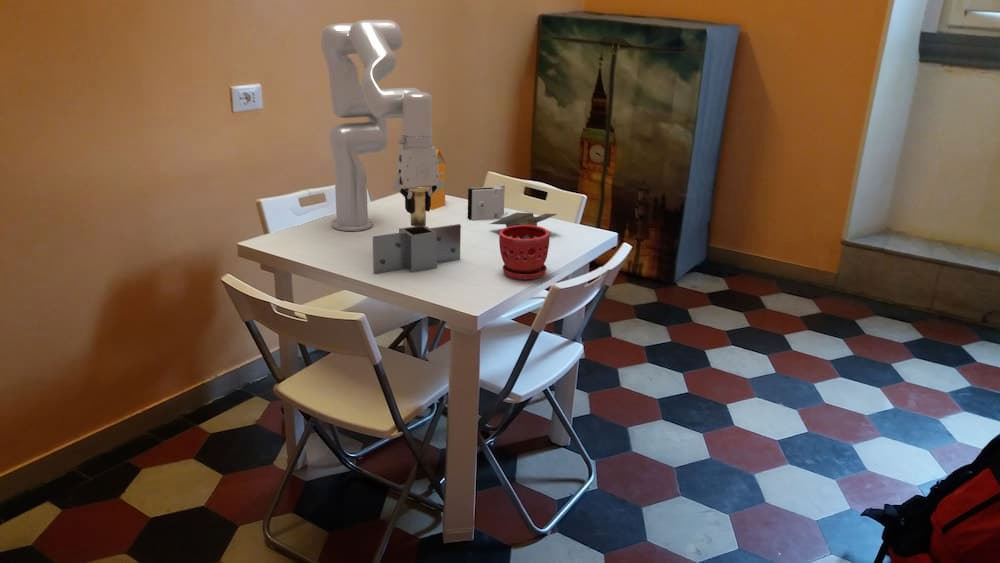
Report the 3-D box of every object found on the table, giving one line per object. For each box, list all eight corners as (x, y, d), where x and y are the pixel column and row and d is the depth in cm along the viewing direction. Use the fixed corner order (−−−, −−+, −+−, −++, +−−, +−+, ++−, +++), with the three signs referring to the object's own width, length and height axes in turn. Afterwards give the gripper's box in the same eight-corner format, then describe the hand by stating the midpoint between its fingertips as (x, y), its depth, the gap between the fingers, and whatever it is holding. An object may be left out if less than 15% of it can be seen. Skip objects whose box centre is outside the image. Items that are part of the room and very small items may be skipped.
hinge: (502, 213, 262) (503, 184, 258) (510, 217, 257) (511, 188, 254) (465, 218, 255) (466, 188, 252) (473, 222, 251) (473, 192, 247)
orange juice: (432, 210, 263) (432, 150, 256) (411, 205, 267) (410, 147, 260) (445, 205, 269) (446, 147, 262) (425, 200, 273) (424, 143, 266)
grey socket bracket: (368, 268, 208) (367, 233, 204) (453, 254, 221) (453, 220, 217) (379, 277, 202) (379, 241, 198) (466, 262, 215) (466, 228, 211)
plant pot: (526, 262, 217) (528, 221, 212) (557, 276, 207) (560, 233, 203) (488, 271, 209) (489, 228, 205) (518, 286, 200) (520, 241, 195)
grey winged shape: (493, 249, 239) (518, 227, 228) (487, 223, 242) (511, 200, 230) (537, 249, 248) (563, 229, 236) (531, 225, 251) (556, 203, 239)
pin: (401, 222, 208) (400, 183, 204) (423, 219, 211) (423, 180, 207) (412, 229, 203) (411, 188, 199) (435, 226, 206) (435, 186, 202)
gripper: (393, 147, 192) (394, 219, 198) (453, 142, 200) (452, 211, 207) (381, 141, 198) (382, 211, 204) (439, 137, 206) (439, 204, 213)
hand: (418, 210), depth 206 cm, fingers closed on pin, 4 cm apart
